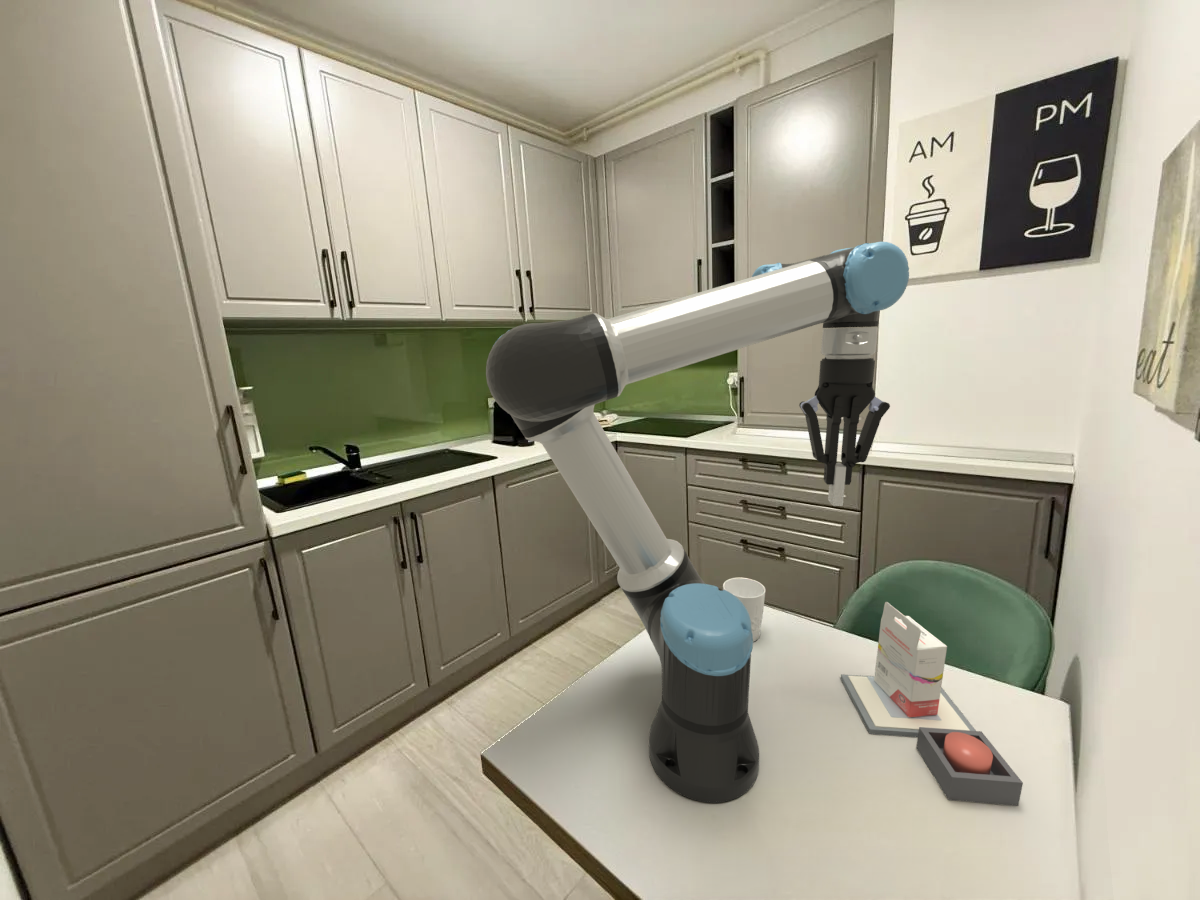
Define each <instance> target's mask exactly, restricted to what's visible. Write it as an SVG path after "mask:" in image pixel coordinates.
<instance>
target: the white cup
mask: <svg viewBox="0 0 1200 900" xmlns="http://www.w3.org/2000/svg"><path fill="white" fill-rule="evenodd" d="M722 590H726V591H728V592H730V593H731V594H733V595H734V596H736V597H737V598H738V599H739V600H740V601H741V602H742V603H743V605H744V606H745V607H746V609H747V611H748V613H749V616H750V619H751V629H752V635H753V643H754V642H756V641H757V640H758V639H759V638H760V637H761V636H760V635H761V627H762V623H763V618H764V617H763V615H764V609H765V598H766V587H765V586H764V585H763V584H762V582H759V581H757V580H755V579H751V578H747V577H732V578H729V579H727V580H725V581H724V582H723V584H722Z"/></svg>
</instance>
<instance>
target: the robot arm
mask: <svg viewBox="0 0 1200 900" xmlns="http://www.w3.org/2000/svg"><path fill="white" fill-rule="evenodd" d="M909 270H910V267H909V261H908V258H907V256H906V255H905V253H904V251H903V250H902V249H901V248H900V247H899V246H898V245H896V244H893V243H892V242H888V241H877V242H871V243H869V242H867V243H866V242H865V243H862V244H858V245H856V246H854V247H846V248H841V249H836V250H833V251H832V252H830V253H829V254H826V255H825V254H824V255H821V256H817V257H813V258H809V259H805V260H802V261H797V262H794V263H792V262H791V263H782V262H776V263H772V264H770V263H768V264H763V265H760V266H758V267H757V268H756V269H755V270H754V272H753V273H752V275H751V277H748V278H744V279H741V280H737V281H734V282H730V283H727V284H723V285H721V286H720V285H719V286H716V287H713V288H710V289H706V290H703V291H699V292H696V293H692V294H689V295H685V296H683V297H679V298H676V299H673V300H672V299H671V300H669V301H668V300H667V301H665V302H662V303H658V304H655V305H651V306H647V307H645V308H640V309H638V310H633V311H631V312H627V313H623V314H620V315H616V316H614V317H610V318H605V317H604V316H602V315H600V314H598V313H596V312H593V313H590V314H586V315H583V316H580V317H575V318H571V319H567V320H559V321H552V322H551V321H550V322H532V323H525V324H521V325H518V326H515V327H512V328H511V329H508V330H507V331H506V332H505V333H503V334H501V336H499V338H497V340H495V342H494V344H493V345H492V347H491V349H490V351H489V353H488V357H487V360H486V366H485V377H486V384H487V387H488V389H489V392H490V394H491V396H492V398H493V400H494V401H495V402H496V403H497V404H498V406H499V407H500V408H501V409H502V410H503V411H505V412H506V413H507V414H509V415H510V416H511V418H512V419H513V421H514V423H515V424H516V426H517V427H518V429H519V430H520V432H521V434H522V435H523V436H524V438H525V440H527V441H530V442H531V441H533V442H537V443H540V444H541V445H542V447H543V448H544V449H545V452H546V453H547V454H548V456H549V457H550V459H551V461H552V462H553V464H554V465H555V467H556V468H557V471H558V472H559V474H560V475H561V477H562V478H563V480H564V481H565V483H566V484H567V487H568V488H569V489H570V491H571V492H572V494H573V496H574V497H575V499H576V500H577V502H578V504H579V505H580V507H581V509H583V512H584V513H585V515H586V516H587V518H588V519H589V521H590V523H591V524H592V526H593V527H594V529H595V531H596V532H597V534H598V535H599V537H600V539H601V540H602V542H603V544H604V545H605V546H606V548H607V550H608V551H609V553H610V554H611V556H612V558H613V559H614V561H615V562H616V564H617V566H618V567H619V570H618V572H617V576H616V578H617V579H616V580H617V584H618V585H619V587H620V588H621V590H622V592H623V593H624V595H625V597H626V598H627V599H628V601H629V603H630V605H631V606H632V607H633V609H634V610H635V611H634V612H636V614H637V615H638V617H639V619H640V621H641V622H642V624H643V627H644V628H645V630H646V632H647V635H648V637H649V638H650V641H651V642H652V645H653V646H654V649H655V651H656V653H657V655H658V657H659V660H660V665H661V667H660V668H661V701H660V703H659V707H658V709H657V711H656V713H655V717H654V718H653V721H652V724H651V726H650V729H649V736H648V740H649V741H648V754H649V759H650V762H651V766H652V767H653V769H654V772H655V773H656V775H657V776H658V777H659V778H660V779H661V781H662V782H664V784H665V785H666V786H668V787H669V788H670V789H671V790H673V791H674V792H675V793H678V794H680V795H681V796H684V797H686V798H687V799H691V800H693V801H698V802H703V803H713V804H714V803H716V804H717V803H723V802H730V801H731V800H732V801H733V800H735V799H737V798H739V797H741V796H742V795H744V794H746V793H747V792H748V791H749V790H751V788H752V787H753V785H754V784H755V782H756V780H757V777H758V775H759V770H760V747H759V742H758V739H757V736H756V734H755V729H754V727H753V724H752V721H751V717H750V714H749V698H750V697H749V696H750V680H751V679H750V678H751V664H752V663H751V662H752V661H751V660H752V659H751V657H752V651H753V647H754V642H753V635H752V629H751V619H750V616H749V613H748V611H747V609H746V607H745V606H744V605H743V603H742V602H741V601H740V600H739V599H738V598H737V597H736V596H734V595H733V594H731V593H730V592H728V591H726V590H723V589H722V590H720V589H719V586H716V585H712V584H707V583H706V582H705V581H704V580H703V579H702V577H701V576H700V574H699V573H698V571H697V569H696V567H695V565H694V564H693V562H692V561H691V559H690V557H689V556H688V554H687V552H686V550H685V549H684V547H683V545H682V544H681V542H679V541H677V540H676V539H670V538H667V537H666V535H665V533H664V531H663V530H662V528H661V526H660V525H659V523H658V521H657V519H656V518H655V516H654V514H653V513H652V511H651V509H650V507H649V506H648V504H647V503H646V501H645V499H644V497H643V495H642V494H641V491H640V490H639V489H638V487H637V485H636V484H635V482H634V480H633V478H632V477H631V475H630V473H629V472H628V470H627V468H626V467H625V465H624V463H623V461H622V460H621V458H620V455H619V454H618V452H617V450H616V449H615V447H614V446H613V444H612V442H611V441H610V440H611V439H609V437H608V435H607V433H606V432H605V430H604V429H603V426H602V425H601V423H600V422H599V420H598V418H597V416H596V414H595V413H594V412H595V411H594V409H595V405H597V404H599V403H603V402H606V401H608V400H611V399H615V398H617V397H620V396H621V394H622V393H623V390H624V389H625V387H626V386H627V385H629V384H632V383H635V382H639V381H642V380H645V379H648V378H652V377H655V376H658V375H661V374H664V373H667V372H670V371H674V370H677V369H680V368H683V367H687V366H689V365H693V364H696V363H699V362H702V361H706V360H708V359H711V358H715V357H718V356H721V355H724V354H728V353H731V352H734V351H737V350H740V349H744V348H747V347H749V346H753V345H756V344H759V343H763V342H766V341H769V340H773V339H774V338H778V337H781V336H784V335H788V334H791V333H794V332H798V331H800V330H804V329H807V328H810V327H813V326H817V325H820V324H822V334H821V335H822V336H821V347H820V354H821V356H824V358H821V360H820V362H819V374H818V375H819V376H818V386H817V389H816V390H815V392H814V396H813V397H811V398H809V399H807V400H806V401H805V400H804V401H801V402H799V405H798V406H799V408H800V410H801V411H802V413H803V414H804V416H805V421H806V428H807V431H808V438H809V442H810V447H811V453H812V457H813V458H814V459H815V460H816V461H818V462H819V463H823V464H824V467H823V468H824V471H823V481H824V483H825V484H826V485H828V496H827V500H828V502H829V504H831V505H832V506H833V507H843V505H844V497H845V496H844V495H845V485H847V486H848V485H849V486H850V484H851V483H852V476H853V475H852V474H853V468H855V466H856V464H858V463H865V462H866V461H867V458H868V456H869V453H870V450H871V448H872V445H873V442H874V439H875V437H876V435H877V432H878V429H879V426H880V424H881V420H882V418H883V417H884V415H886V413H887V412H888V410H889V409H890V407H891V405H890V403H889V402H886V401H883V400H881V399H880V398H878V397H876V393H875V389H874V387H873V384H874V376H875V364H876V360H875V359H874V357H873V358H872V355H875V354H876V352H877V341H878V332H879V324H880V323H879V319H880V314H881V313H880V312H881V311H884V310H886V309H888V308H889V309H890V307H892V306H893V305H895V304H896V303H897V302H898V301H899V300H900V299H901V298H902V297H903V295H904V293H905V291H906V289H907V287H908V283H909V279H910V271H909ZM818 404H819V406H820V407H821V408H822V409H823V411H824V413H825V414H826V416H825V418H826V430H825V443H824V446H823V440H822V436H821V435H822V434H821V430H820V429H821V427H820V425H819V424H820V423H819V419H818V415H817V412H818V409H819V408H818ZM866 408H868V413H867V415H866V418H865V419H864V423H863V426H862V429H861V431H860V434H859V436H858V439H857V433H858V425H859V422H860V415H861V414H862V413H863V412H864V411H865V409H866ZM842 420H843V427H842V428H843V429H842V440H841V441H842V442H841V452H840V453H841V454H840V461H841V462H837V461H838V450H839V440H840V439H839V437H840V427H841V423H842Z"/></svg>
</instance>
